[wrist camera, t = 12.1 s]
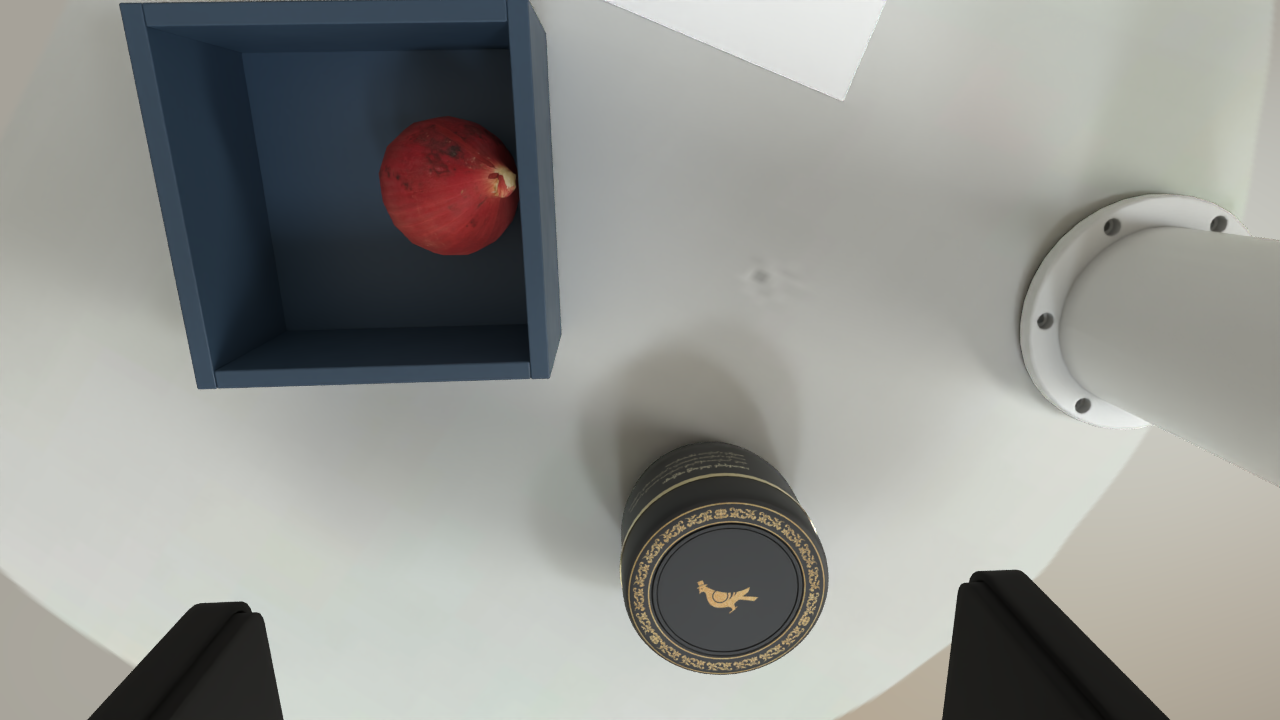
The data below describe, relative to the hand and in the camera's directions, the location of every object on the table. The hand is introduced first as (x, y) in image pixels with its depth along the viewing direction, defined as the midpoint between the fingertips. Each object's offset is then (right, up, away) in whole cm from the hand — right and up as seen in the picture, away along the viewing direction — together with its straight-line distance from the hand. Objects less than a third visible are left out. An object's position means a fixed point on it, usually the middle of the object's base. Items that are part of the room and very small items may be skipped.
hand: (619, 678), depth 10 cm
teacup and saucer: (+4, +29, +21) cm, 36 cm away
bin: (-11, +12, +25) cm, 30 cm away
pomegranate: (-11, +12, +24) cm, 29 cm away
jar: (+4, -4, +31) cm, 32 cm away
